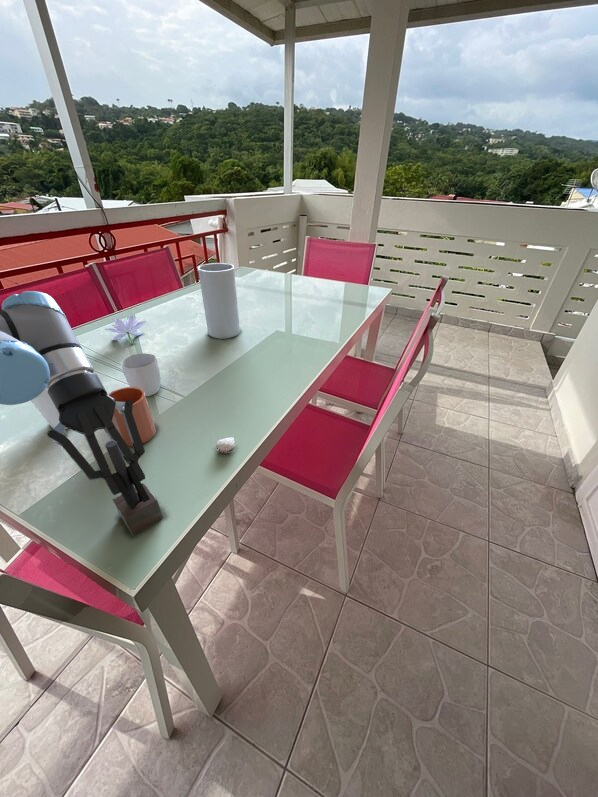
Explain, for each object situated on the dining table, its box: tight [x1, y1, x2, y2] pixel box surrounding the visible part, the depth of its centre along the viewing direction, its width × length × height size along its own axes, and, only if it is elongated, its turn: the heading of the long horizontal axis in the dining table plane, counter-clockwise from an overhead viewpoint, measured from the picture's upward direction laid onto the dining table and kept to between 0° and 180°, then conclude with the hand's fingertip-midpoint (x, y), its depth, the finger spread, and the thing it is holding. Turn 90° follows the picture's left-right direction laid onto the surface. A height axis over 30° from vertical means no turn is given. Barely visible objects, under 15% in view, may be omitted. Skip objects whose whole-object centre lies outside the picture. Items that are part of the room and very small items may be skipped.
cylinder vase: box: [197, 262, 241, 340], centre depth 124 cm, size 12×12×25 cm
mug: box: [120, 352, 162, 397], centre depth 95 cm, size 13×9×10 cm
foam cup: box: [30, 388, 69, 430], centre depth 80 cm, size 10×9×13 cm
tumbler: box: [107, 386, 157, 447], centre depth 77 cm, size 9×9×11 cm
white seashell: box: [215, 437, 236, 454], centre depth 76 cm, size 4×5×2 cm
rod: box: [105, 440, 140, 505], centre depth 56 cm, size 2×2×18 cm
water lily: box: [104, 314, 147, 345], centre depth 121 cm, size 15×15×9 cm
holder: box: [112, 482, 164, 537], centre depth 60 cm, size 6×6×5 cm
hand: (139, 504), depth 55 cm, fingers closed on rod, 1 cm apart
